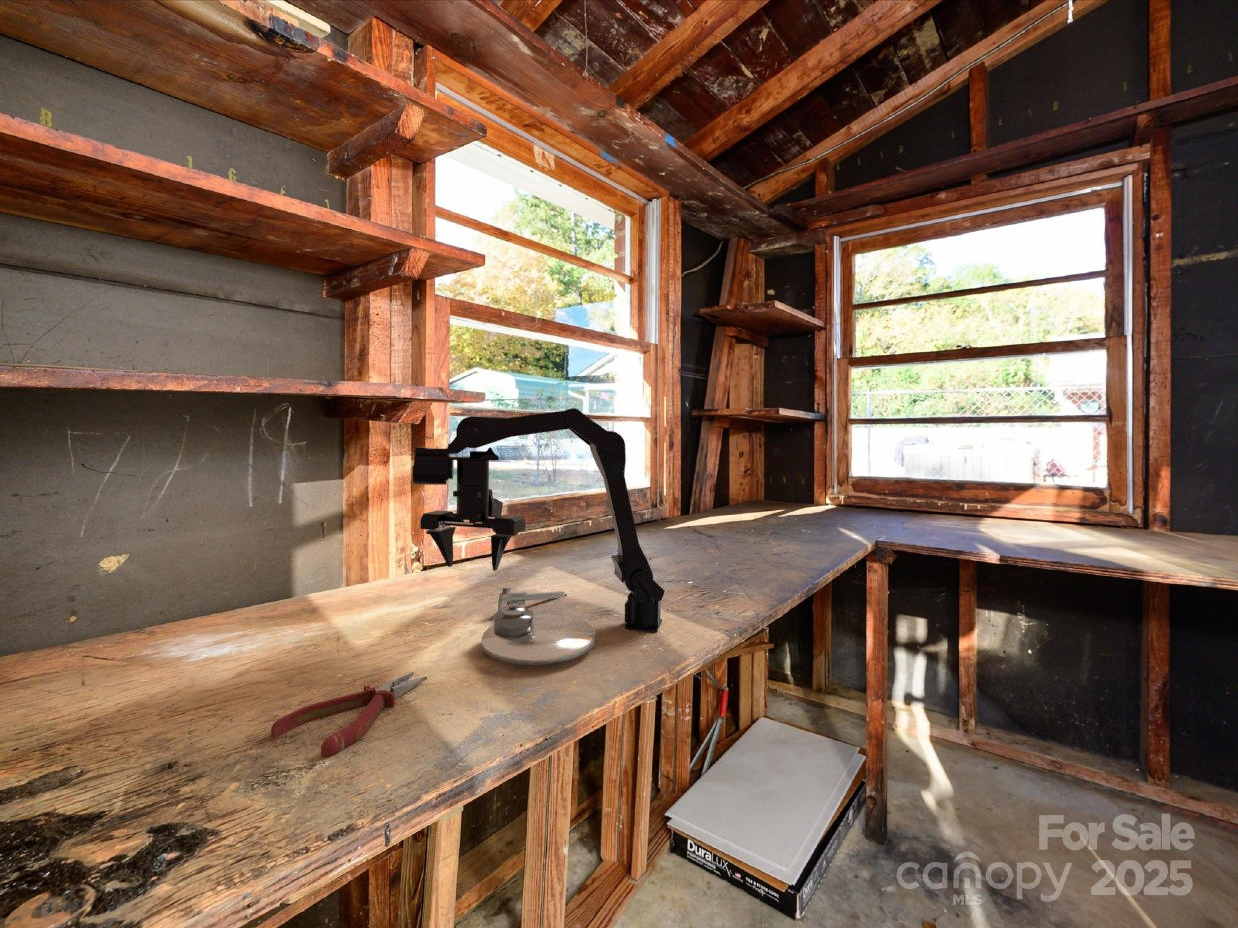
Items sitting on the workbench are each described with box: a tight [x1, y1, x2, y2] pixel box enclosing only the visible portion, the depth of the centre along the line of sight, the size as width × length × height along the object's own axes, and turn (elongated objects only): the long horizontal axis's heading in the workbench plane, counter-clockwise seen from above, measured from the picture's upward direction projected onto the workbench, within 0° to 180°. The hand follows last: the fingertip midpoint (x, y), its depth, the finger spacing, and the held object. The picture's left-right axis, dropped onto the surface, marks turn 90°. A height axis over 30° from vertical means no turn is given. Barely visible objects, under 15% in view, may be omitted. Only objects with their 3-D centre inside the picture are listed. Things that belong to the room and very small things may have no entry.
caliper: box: [497, 587, 568, 612], centre depth 121 cm, size 20×1×6 cm, turn 143°
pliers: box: [270, 671, 428, 758], centre depth 75 cm, size 12×20×3 cm, turn 155°
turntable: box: [481, 614, 596, 666], centre depth 97 cm, size 20×20×1 cm
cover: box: [493, 603, 534, 638], centre depth 98 cm, size 7×7×4 cm
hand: (472, 568), depth 100 cm, fingers open, 9 cm apart
